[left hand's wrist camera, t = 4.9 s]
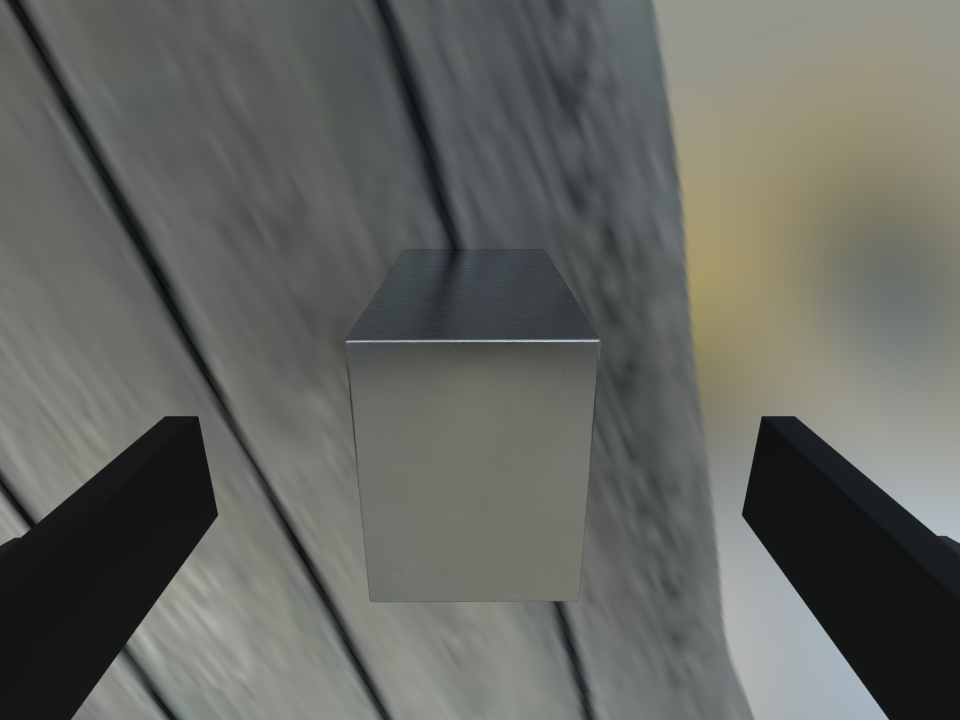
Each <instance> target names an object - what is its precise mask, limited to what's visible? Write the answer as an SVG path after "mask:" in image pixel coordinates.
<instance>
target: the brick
mask: <svg viewBox="0 0 960 720" xmlns="http://www.w3.org/2000/svg"><path fill="white" fill-rule="evenodd" d="M600 348H601V339H600V338H599V336H598V334H597V333H596V331H595V330H594V328H593V326H592V325H591V323H590V322H589V320H588V318H587V317H586V315H585V314H584V312H583V310H582V309H581V307H580V306H579V304H578V302H577V301H576V299H575V298H574V296H573V294H572V293H571V291H570V290H569V288H568V286H567V285H566V283H565V282H564V280H563V278H562V277H561V275H560V274H559V272H558V270H557V269H556V267H555V266H554V264H553V263H552V261H551V259H550V258H549V256H548V255H547V253H546V251H545V250H404V251H403V253H402V254H401V256H400V257H399V259H398V260H397V262H396V263H395V265H394V266H393V268H392V269H391V271H390V272H389V274H388V276H387V277H386V279H385V280H384V282H383V283H382V285H381V286H380V288H379V289H378V291H377V292H376V294H375V295H374V297H373V298H372V300H371V301H370V303H369V304H368V306H367V307H366V309H365V310H364V312H363V313H362V315H361V317H360V318H359V320H358V321H357V323H356V324H355V326H354V327H353V329H352V330H351V332H350V333H349V335H348V336H347V338H346V339H345V350H346V360H347V371H348V381H349V391H350V402H351V412H352V422H353V432H354V443H355V453H356V463H357V474H358V484H359V494H360V504H361V515H362V525H363V535H364V546H365V556H366V566H367V576H368V587H369V597H370V601H371V602H488V601H578V599H579V589H580V577H581V566H582V554H583V543H584V532H585V520H586V509H587V497H588V486H589V474H590V463H591V451H592V440H593V428H594V417H595V405H596V394H597V382H598V371H599V359H600Z"/></svg>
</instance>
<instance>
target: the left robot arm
mask: <svg viewBox="0 0 960 720" xmlns="http://www.w3.org/2000/svg"><path fill="white" fill-rule="evenodd" d="M217 516H218V512H217V507H216V502H215V497H214V492H213V487H212V482H211V477H210V472H209V467H208V463H207V458H206V453H205V448H204V443H203V438H202V433H201V428H200V423H199V418H198V416H165V417H164V418H163V419H161V420H160V421H159V422H158V423H157V424H155V425H154V426H153V427H152V428H151V429H150V430H148V431H147V432H146V433H145V434H144V435H142V436H141V437H140V438H139V439H138V440H136V441H135V442H134V443H133V444H132V445H131V446H129V447H128V448H127V449H126V450H125V451H123V452H122V453H121V454H120V455H119V456H117V457H116V458H115V459H114V460H113V461H111V462H110V463H109V464H108V465H107V466H106V467H104V468H103V469H102V470H101V471H100V472H98V473H97V474H96V475H95V476H94V477H92V478H91V479H90V480H89V481H88V482H87V483H85V484H84V485H83V486H82V487H81V488H79V489H78V490H77V491H76V492H75V493H73V494H72V495H71V496H70V497H69V498H67V499H66V500H65V501H64V502H63V503H62V504H60V505H59V506H58V507H57V508H56V509H54V510H53V511H52V512H51V513H50V514H48V515H47V516H46V517H45V518H44V519H42V520H41V521H40V522H39V523H38V524H37V525H35V526H34V527H33V528H32V529H31V530H29V531H28V532H27V533H26V534H25V535H23V536H22V537H21V538H13V539H12V540H10V541H8V542H6V543H4V544H3V545H1V546H0V720H71V719H72V717H73V716H74V715H75V713H76V712H77V710H78V709H79V708H80V706H81V705H82V703H83V702H84V701H85V699H86V698H87V697H88V695H89V694H90V692H91V691H92V690H93V688H94V687H95V685H96V684H97V683H98V681H99V680H100V679H101V677H102V676H103V674H104V673H105V672H106V670H107V669H108V667H109V666H110V665H111V663H112V662H113V660H114V659H115V658H116V656H117V655H118V654H119V652H120V651H121V649H122V648H123V647H124V645H125V644H126V642H127V641H128V640H129V638H130V637H131V635H132V634H133V633H134V631H135V630H136V629H137V627H138V626H139V624H140V623H141V622H142V620H143V619H144V617H145V616H146V615H147V613H148V612H149V610H150V609H151V608H152V606H153V605H154V604H155V602H156V601H157V599H158V598H159V597H160V595H161V594H162V592H163V591H164V590H165V588H166V587H167V586H168V584H169V583H170V581H171V580H172V579H173V577H174V576H175V574H176V573H177V572H178V570H179V569H180V567H181V566H182V565H183V563H184V562H185V561H186V559H187V558H188V556H189V555H190V554H191V552H192V551H193V549H194V548H195V547H196V545H197V544H198V542H199V541H200V540H201V538H202V537H203V536H204V534H205V533H206V531H207V530H208V529H209V527H210V526H211V524H212V523H213V522H214V520H215V519H216V517H217ZM742 516H743V517H744V519H745V520H746V522H747V523H748V524H749V526H750V527H751V529H752V530H753V531H754V533H755V534H756V535H757V537H758V538H759V540H760V541H761V542H762V544H763V545H764V547H765V548H766V549H767V551H768V552H769V554H770V555H771V556H772V558H773V559H774V561H775V562H776V563H777V565H778V566H779V567H780V569H781V570H782V572H783V573H784V574H785V576H786V577H787V578H788V580H789V581H790V583H791V584H792V586H793V587H794V588H795V590H796V591H797V592H798V594H799V595H800V597H801V598H802V599H803V601H804V602H805V604H806V605H807V606H808V608H809V609H810V610H811V612H812V613H813V615H814V616H815V617H816V619H817V620H818V621H819V623H820V624H821V626H822V627H823V629H824V630H825V631H826V633H827V634H828V635H829V637H830V638H831V640H832V641H833V642H834V644H835V645H836V647H837V648H838V649H839V651H840V652H841V654H842V655H843V656H844V658H845V659H846V660H847V662H848V663H849V665H850V666H851V667H852V669H853V670H854V672H855V673H856V674H857V676H858V677H859V678H860V680H861V681H862V683H863V684H864V685H865V687H866V688H867V690H868V691H869V692H870V694H871V695H872V697H873V698H874V699H875V701H876V702H877V703H878V705H879V706H880V708H881V709H882V710H883V712H884V713H885V715H886V716H887V717H888V719H889V720H960V543H958V542H956V541H954V540H952V539H951V538H949V537H947V536H937V535H935V534H934V533H933V532H932V531H931V530H929V529H928V528H927V527H926V526H925V525H923V524H922V523H921V522H920V521H919V520H918V519H916V518H915V517H914V516H913V515H912V514H910V513H909V512H908V511H907V510H906V509H904V508H903V507H902V506H901V505H900V504H898V503H897V502H896V501H895V500H894V499H893V498H891V497H890V496H889V495H888V494H887V493H885V492H884V491H883V490H882V489H881V488H879V487H878V486H877V485H876V484H875V483H873V482H872V481H871V480H870V479H869V478H867V477H866V476H865V475H864V474H863V473H862V472H860V471H859V470H858V469H857V468H856V467H854V466H853V465H852V464H851V463H850V462H848V461H847V460H846V459H845V458H844V457H843V456H841V455H840V454H839V453H838V452H837V451H835V450H834V449H833V448H832V447H831V446H829V445H828V444H827V443H826V442H825V441H823V440H822V439H821V438H820V437H819V436H817V435H816V434H815V433H814V432H813V431H812V430H810V429H809V428H808V427H807V426H806V425H805V424H803V423H802V422H801V421H800V420H799V419H797V418H796V417H795V416H762V418H761V423H760V428H759V433H758V438H757V443H756V448H755V453H754V458H753V463H752V467H751V473H750V477H749V483H748V487H747V492H746V497H745V502H744V507H743V512H742Z"/></svg>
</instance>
